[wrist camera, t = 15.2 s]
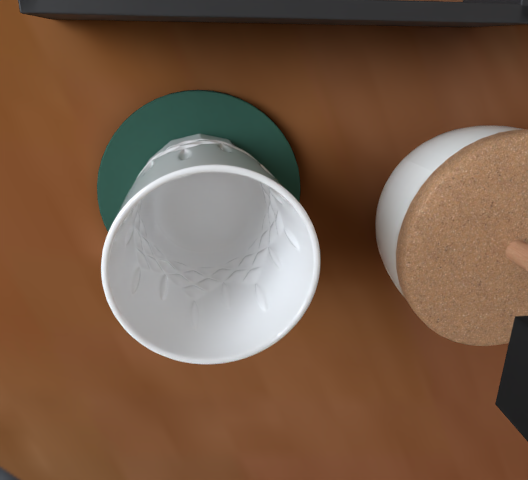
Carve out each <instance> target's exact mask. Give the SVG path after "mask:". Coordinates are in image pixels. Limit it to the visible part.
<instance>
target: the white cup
mask: <svg viewBox="0 0 528 480" xmlns="http://www.w3.org/2000/svg"><path fill="white" fill-rule="evenodd" d="M319 274H320V248H319V242H318V238H317V234H316V231H315V229H314V226H313V224H312V222H311V220H310V218H309V216H308V214H307V213H306V211H305V210H304V208H303V207H302V205H301V204H300V203H299V202H298V200H297V199H296V198H295V197H294V196H293V195H292V194H291V193H290V192H289V191H288V190H287V189H286V188H285V187H284V186H283V185H282V184H281V183H280V182H279V181H278V180H277V179H276V178H275V177H274V176H273V175H272V174H271V173H270V172H269V171H268V170H267V169H266V168H265V167H264V166H263V165H262V164H260V163H259V162H258V161H257V160H256V159H255V158H254V157H252V156H251V155H250V154H249V153H247V152H246V151H244V150H242V149H240V148H239V147H238V146H236V145H235V144H234V143H232V142H231V141H230V140H228V139H224V138H219V137H215V136H210V135H205V134H200V133H199V134H195V135H191V136H187V137H183V138H179V139H175V140H171V141H170V142H169V143H167V144H166V145H165V146H164V147H163V148H162V149H160V150H159V151H158V152H157V153H156V154H155V155H153V156H152V157H151V158H150V159H149V160H148V162H147V164H146V166H145V167H144V168H143V169H142V171H141V172H140V174H139V175H138V177H137V178H136V180H135V182H134V183H133V185H132V187H131V188H130V190H129V192H128V194H127V196H126V198H125V200H124V202H123V204H122V206H121V208H120V210H119V212H118V214H117V216H116V218H115V220H114V222H113V224H112V225H111V228H110V230H109V232H108V235H107V237H106V240H105V244H104V248H103V253H102V261H101V275H102V283H103V288H104V292H105V295H106V298H107V301H108V304H109V306H110V308H111V310H112V312H113V314H114V315H115V317H116V318H117V320H118V321H119V323H120V324H121V325H122V326H123V328H124V329H125V330H126V331H127V332H128V333H129V334H130V335H131V336H132V337H133V338H134V339H136V340H137V341H138V342H139V343H141V344H142V345H144V346H145V347H147V348H148V349H150V350H152V351H154V352H156V353H158V354H160V355H162V356H165V357H167V358H170V359H174V360H177V361H181V362H186V363H193V364H221V363H228V362H233V361H237V360H241V359H244V358H247V357H250V356H252V355H255V354H257V353H259V352H261V351H263V350H265V349H267V348H268V347H270V346H272V345H273V344H275V343H276V342H277V341H279V340H280V339H281V338H283V337H284V336H285V335H286V334H287V333H288V332H289V331H290V330H291V329H292V328H293V327H294V326H295V325H296V324H297V323H298V322H299V320H300V319H301V318H302V316H303V315H304V313H305V312H306V310H307V308H308V307H309V305H310V303H311V301H312V299H313V296H314V294H315V291H316V288H317V284H318V280H319Z"/></svg>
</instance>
